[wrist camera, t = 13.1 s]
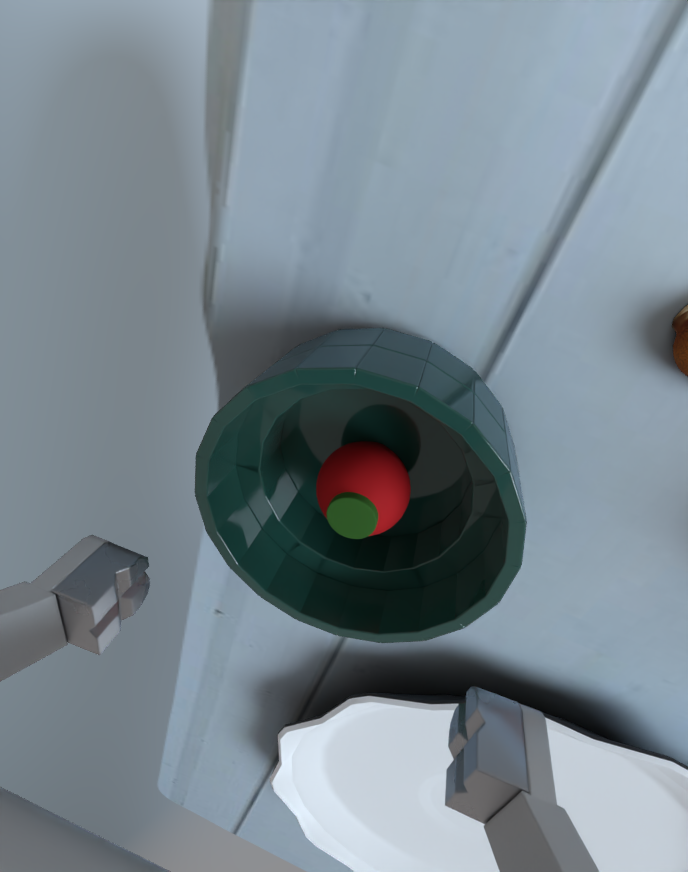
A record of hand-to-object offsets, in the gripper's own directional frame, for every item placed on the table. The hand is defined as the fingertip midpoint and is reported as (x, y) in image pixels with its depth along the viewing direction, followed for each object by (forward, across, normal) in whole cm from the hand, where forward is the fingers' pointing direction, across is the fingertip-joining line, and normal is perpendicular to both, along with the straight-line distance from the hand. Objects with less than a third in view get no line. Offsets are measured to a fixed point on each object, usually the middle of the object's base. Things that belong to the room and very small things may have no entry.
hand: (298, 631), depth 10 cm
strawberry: (+9, 0, +1) cm, 9 cm away
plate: (+9, -14, +24) cm, 30 cm away
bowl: (+9, 0, +1) cm, 9 cm away
